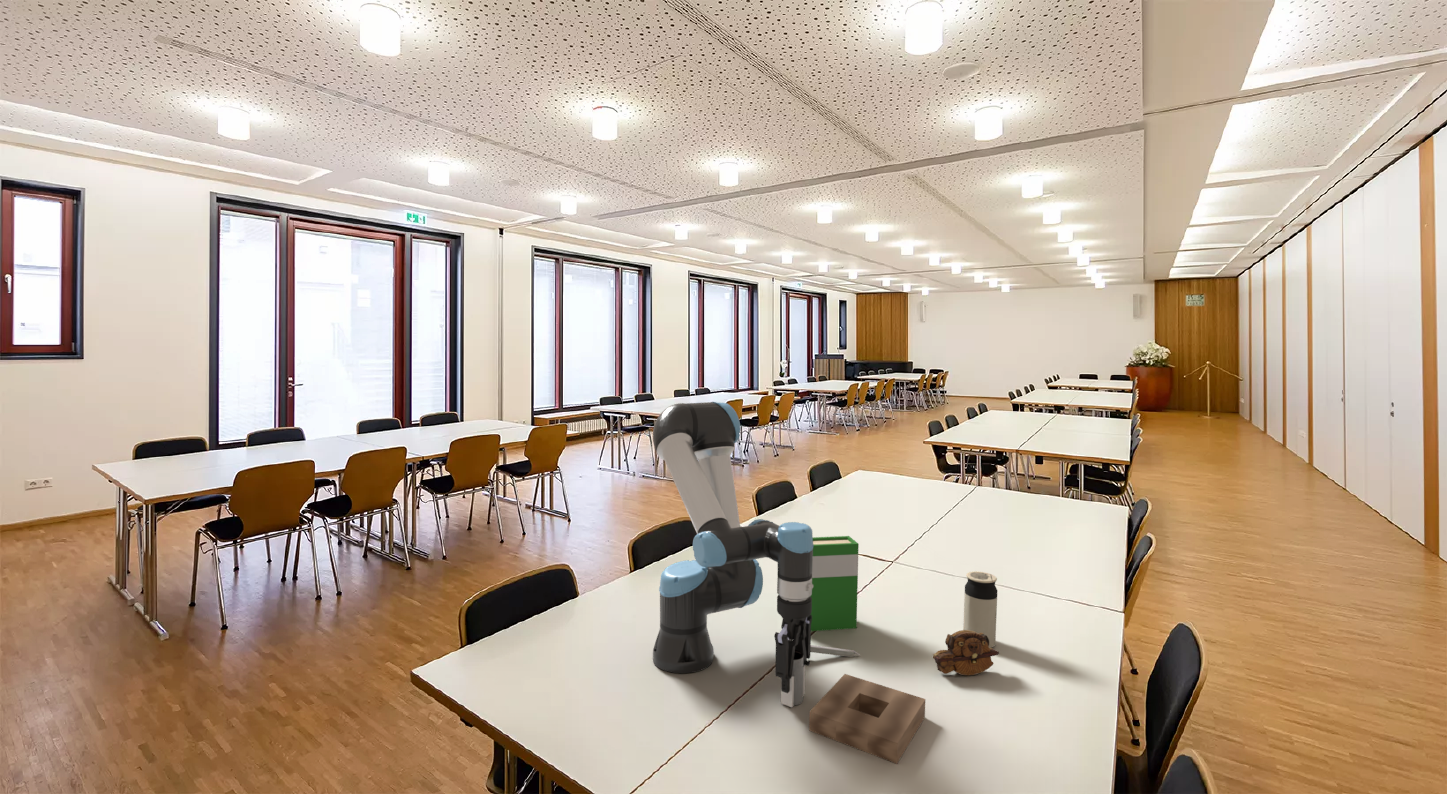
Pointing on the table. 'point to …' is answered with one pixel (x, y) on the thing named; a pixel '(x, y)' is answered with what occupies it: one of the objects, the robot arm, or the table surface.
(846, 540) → the hardback book
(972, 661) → the wooden carving
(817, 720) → the socket board
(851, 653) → the caliper
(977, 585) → the travel mug
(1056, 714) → the table surface
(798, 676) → the grey metal tube
